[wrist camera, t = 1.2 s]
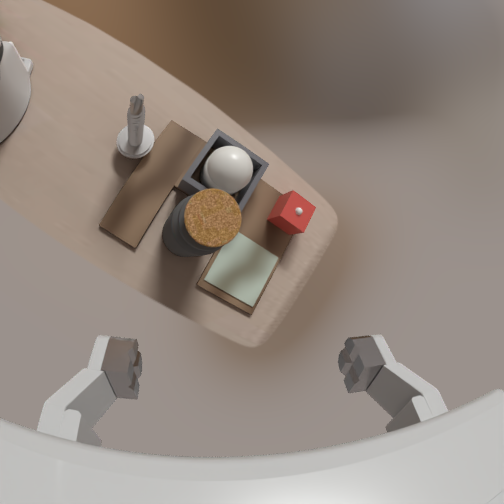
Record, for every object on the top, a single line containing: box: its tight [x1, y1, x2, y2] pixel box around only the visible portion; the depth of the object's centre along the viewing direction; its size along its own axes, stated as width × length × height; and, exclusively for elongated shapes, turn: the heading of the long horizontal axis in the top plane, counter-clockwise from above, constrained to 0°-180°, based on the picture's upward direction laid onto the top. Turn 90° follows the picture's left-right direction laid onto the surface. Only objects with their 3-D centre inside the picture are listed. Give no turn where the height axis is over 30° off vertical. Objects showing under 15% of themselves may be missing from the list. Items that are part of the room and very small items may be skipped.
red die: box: [267, 190, 316, 235], centre depth 40 cm, size 4×4×4 cm
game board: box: [99, 120, 293, 315], centre depth 38 cm, size 23×17×1 cm
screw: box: [117, 94, 154, 159], centre depth 29 cm, size 13×5×5 cm
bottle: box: [163, 188, 242, 257], centre depth 30 cm, size 6×6×15 cm
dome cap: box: [200, 146, 253, 196], centre depth 35 cm, size 6×6×6 cm
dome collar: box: [178, 129, 269, 212], centre depth 37 cm, size 8×8×4 cm
